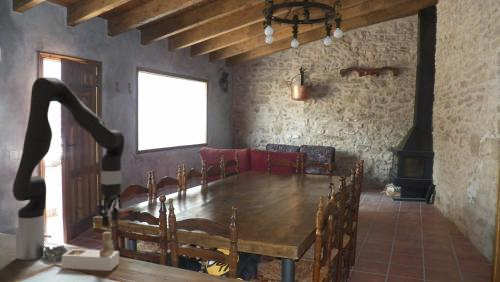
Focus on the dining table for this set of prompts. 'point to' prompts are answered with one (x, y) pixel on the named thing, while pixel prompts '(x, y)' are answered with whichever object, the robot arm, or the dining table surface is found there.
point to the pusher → (107, 245)
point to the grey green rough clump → (55, 253)
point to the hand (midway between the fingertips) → (110, 223)
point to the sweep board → (89, 260)
